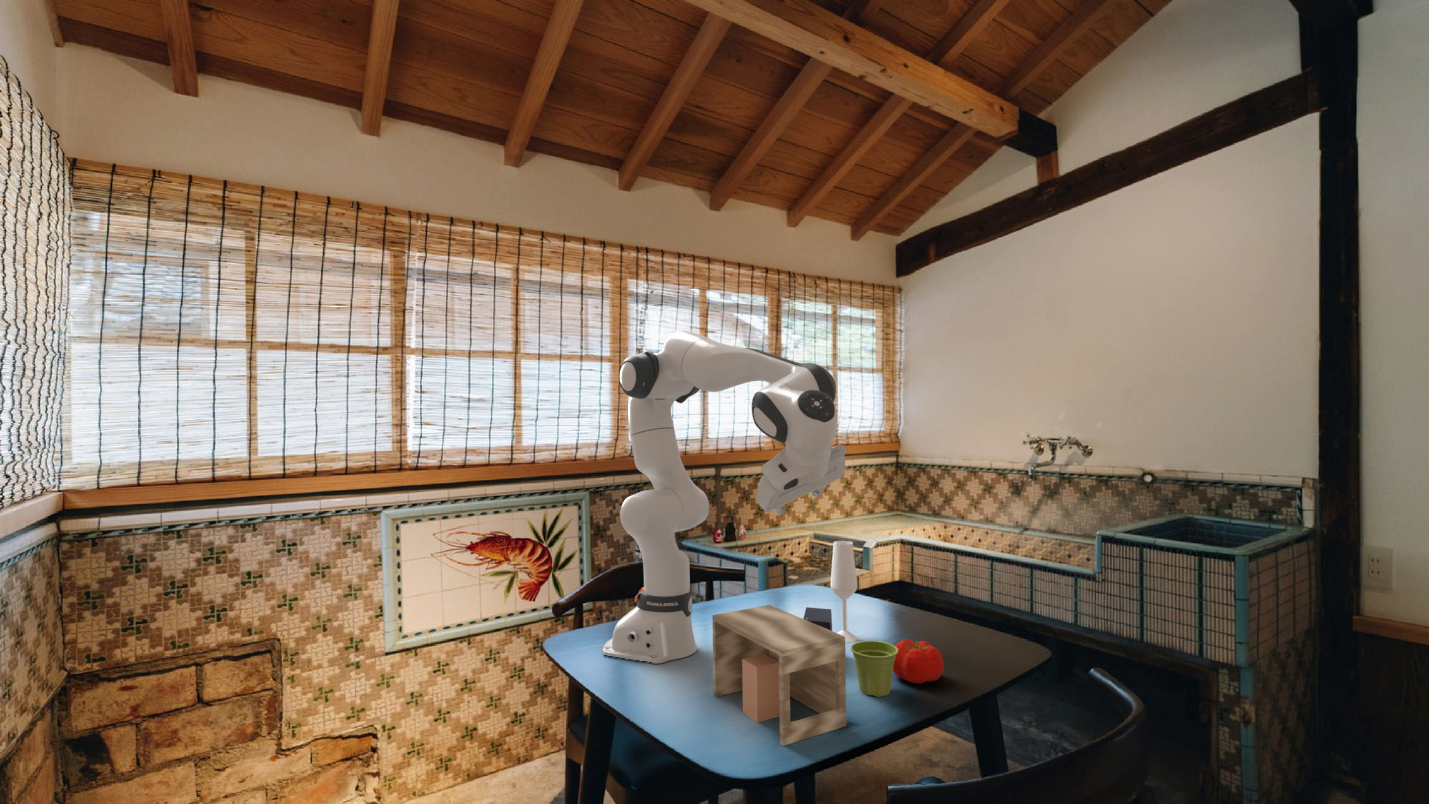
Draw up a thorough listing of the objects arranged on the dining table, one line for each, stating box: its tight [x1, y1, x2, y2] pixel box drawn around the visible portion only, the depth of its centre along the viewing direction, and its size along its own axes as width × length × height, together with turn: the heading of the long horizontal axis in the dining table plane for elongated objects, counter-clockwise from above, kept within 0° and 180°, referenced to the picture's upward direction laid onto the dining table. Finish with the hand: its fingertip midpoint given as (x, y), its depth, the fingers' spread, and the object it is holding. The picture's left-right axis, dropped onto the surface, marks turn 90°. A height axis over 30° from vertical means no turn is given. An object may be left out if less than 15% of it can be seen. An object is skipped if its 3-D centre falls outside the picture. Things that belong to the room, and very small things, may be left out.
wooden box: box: [711, 604, 847, 746], centre depth 126 cm, size 14×24×16 cm, turn 30°
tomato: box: [893, 638, 945, 685], centre depth 140 cm, size 11×11×8 cm
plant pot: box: [849, 640, 898, 698], centre depth 134 cm, size 9×9×9 cm
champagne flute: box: [830, 540, 859, 643], centre depth 167 cm, size 7×7×24 cm
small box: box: [802, 606, 833, 631], centre depth 152 cm, size 11×6×10 cm, turn 168°
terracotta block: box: [742, 654, 780, 723], centre depth 124 cm, size 5×5×10 cm
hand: (798, 503), depth 140 cm, fingers open, 8 cm apart
